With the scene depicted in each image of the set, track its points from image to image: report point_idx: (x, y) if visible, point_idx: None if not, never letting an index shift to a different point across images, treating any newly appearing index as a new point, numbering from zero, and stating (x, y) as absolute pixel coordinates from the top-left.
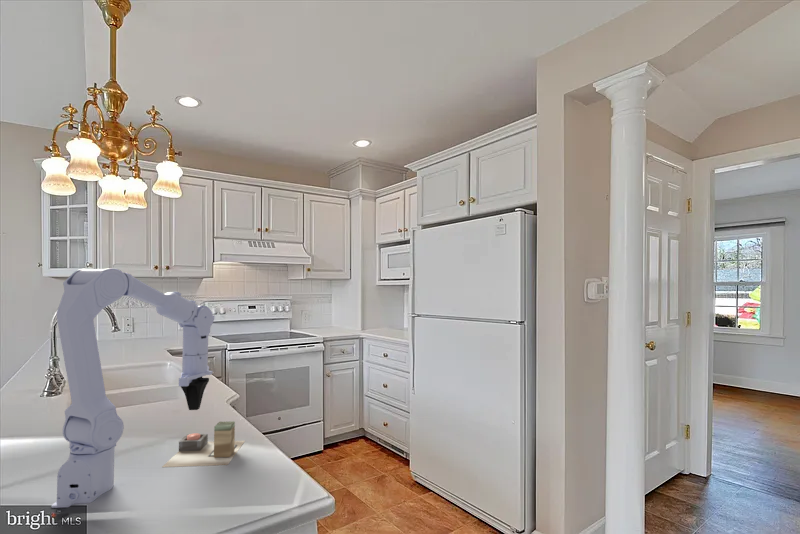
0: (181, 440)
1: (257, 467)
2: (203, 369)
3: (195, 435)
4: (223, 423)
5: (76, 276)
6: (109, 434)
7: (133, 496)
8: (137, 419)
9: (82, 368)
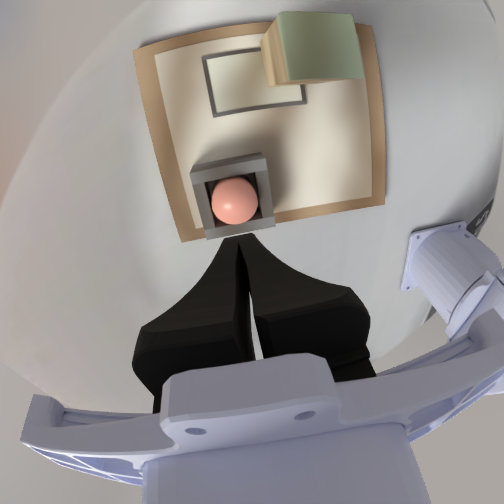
0: (264, 224)
1: None
2: (372, 471)
3: (236, 196)
4: (317, 51)
5: None
6: None
7: (450, 185)
8: (103, 389)
9: None
